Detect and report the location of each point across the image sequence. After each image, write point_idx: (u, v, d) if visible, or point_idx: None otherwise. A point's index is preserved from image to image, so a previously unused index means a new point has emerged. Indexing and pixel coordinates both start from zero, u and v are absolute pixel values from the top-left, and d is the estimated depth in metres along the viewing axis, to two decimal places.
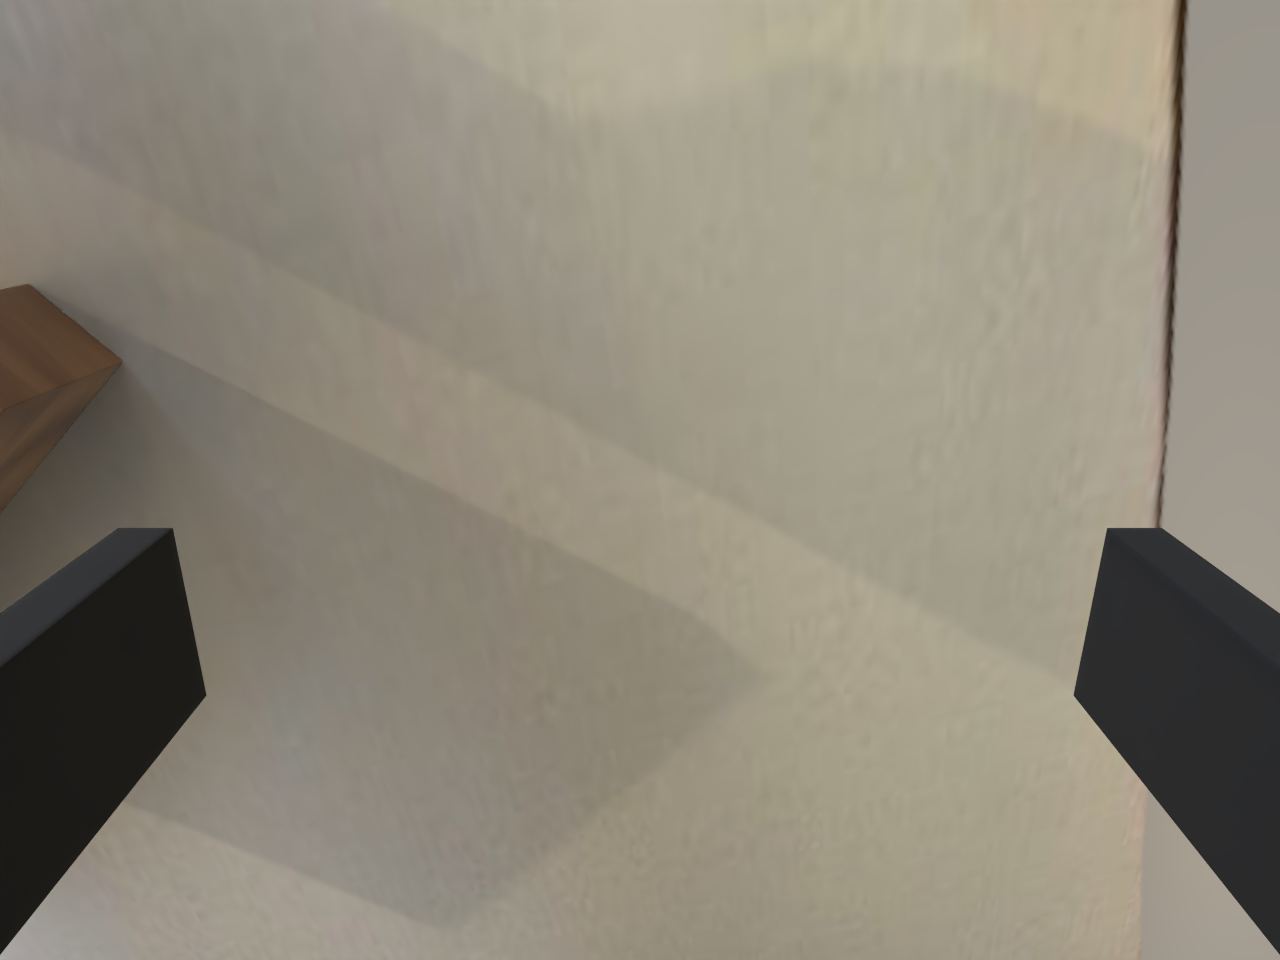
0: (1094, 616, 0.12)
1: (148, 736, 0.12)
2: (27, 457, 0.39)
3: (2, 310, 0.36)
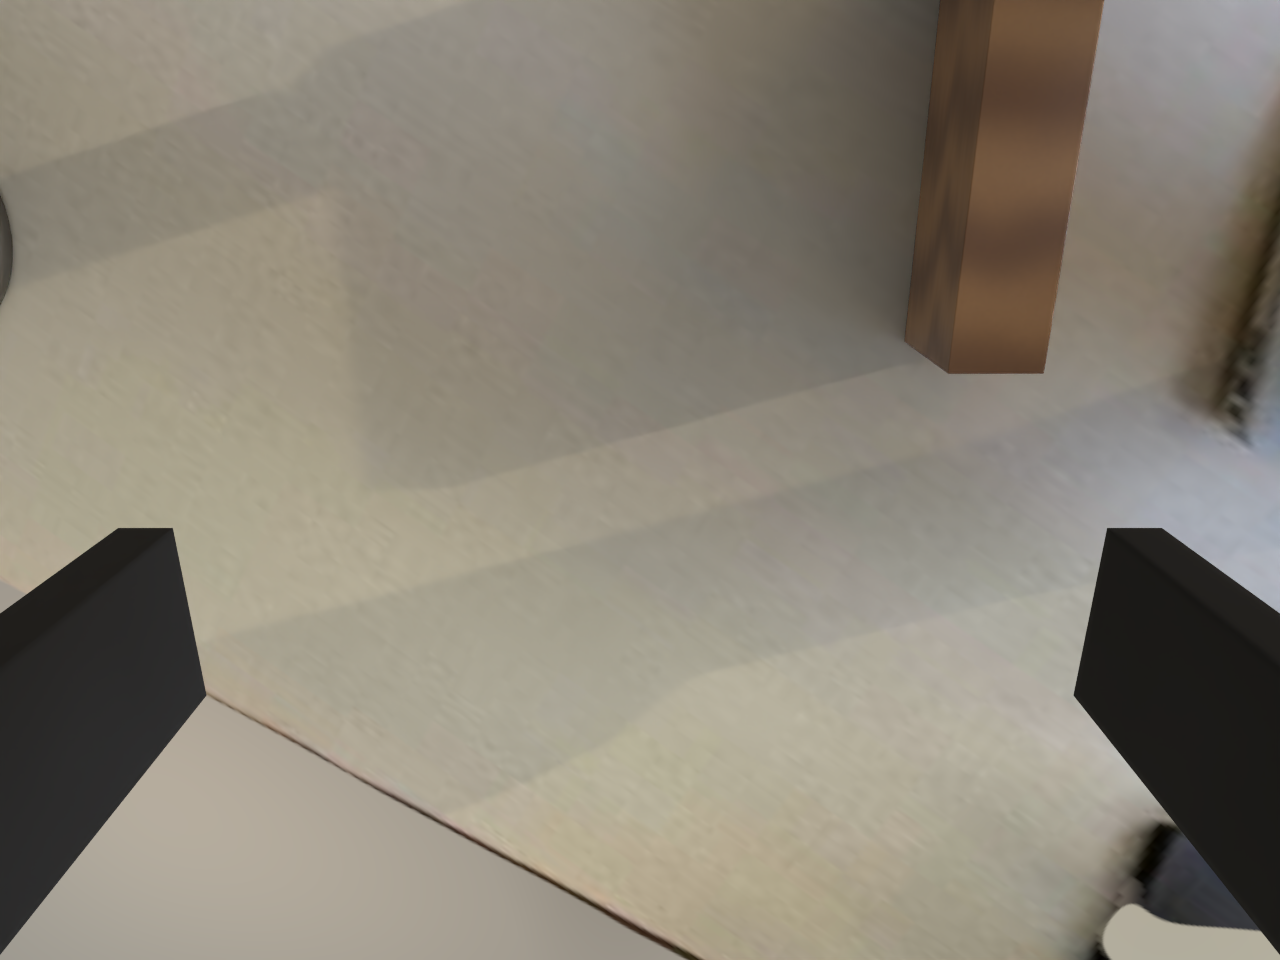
0: (1094, 616, 0.12)
1: (148, 737, 0.12)
2: (925, 251, 0.48)
3: None
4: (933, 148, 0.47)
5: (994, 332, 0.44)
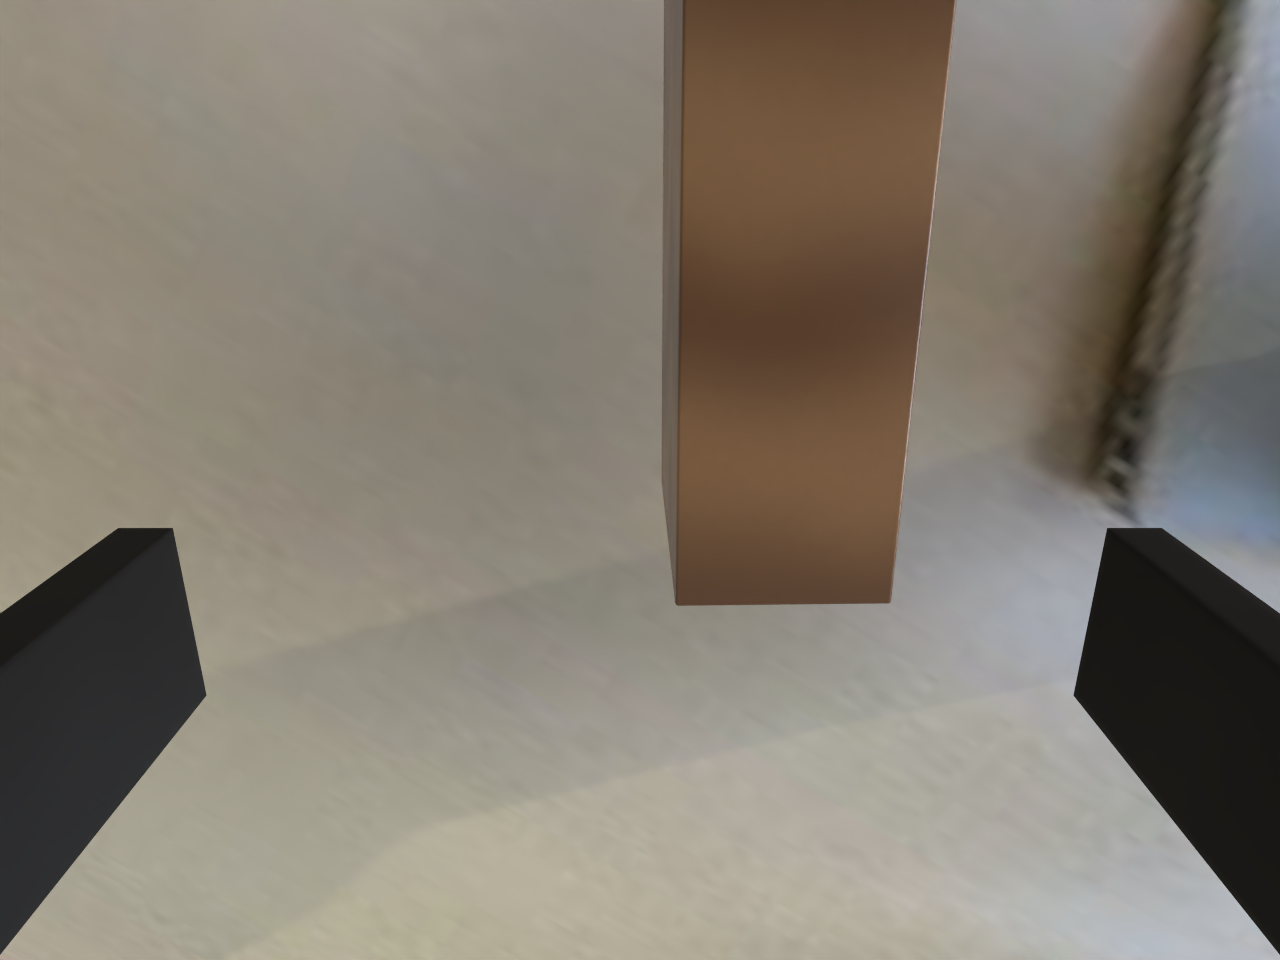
0: (1094, 616, 0.12)
1: (148, 737, 0.12)
2: (665, 318, 0.23)
3: None
4: (666, 103, 0.22)
5: (770, 519, 0.19)
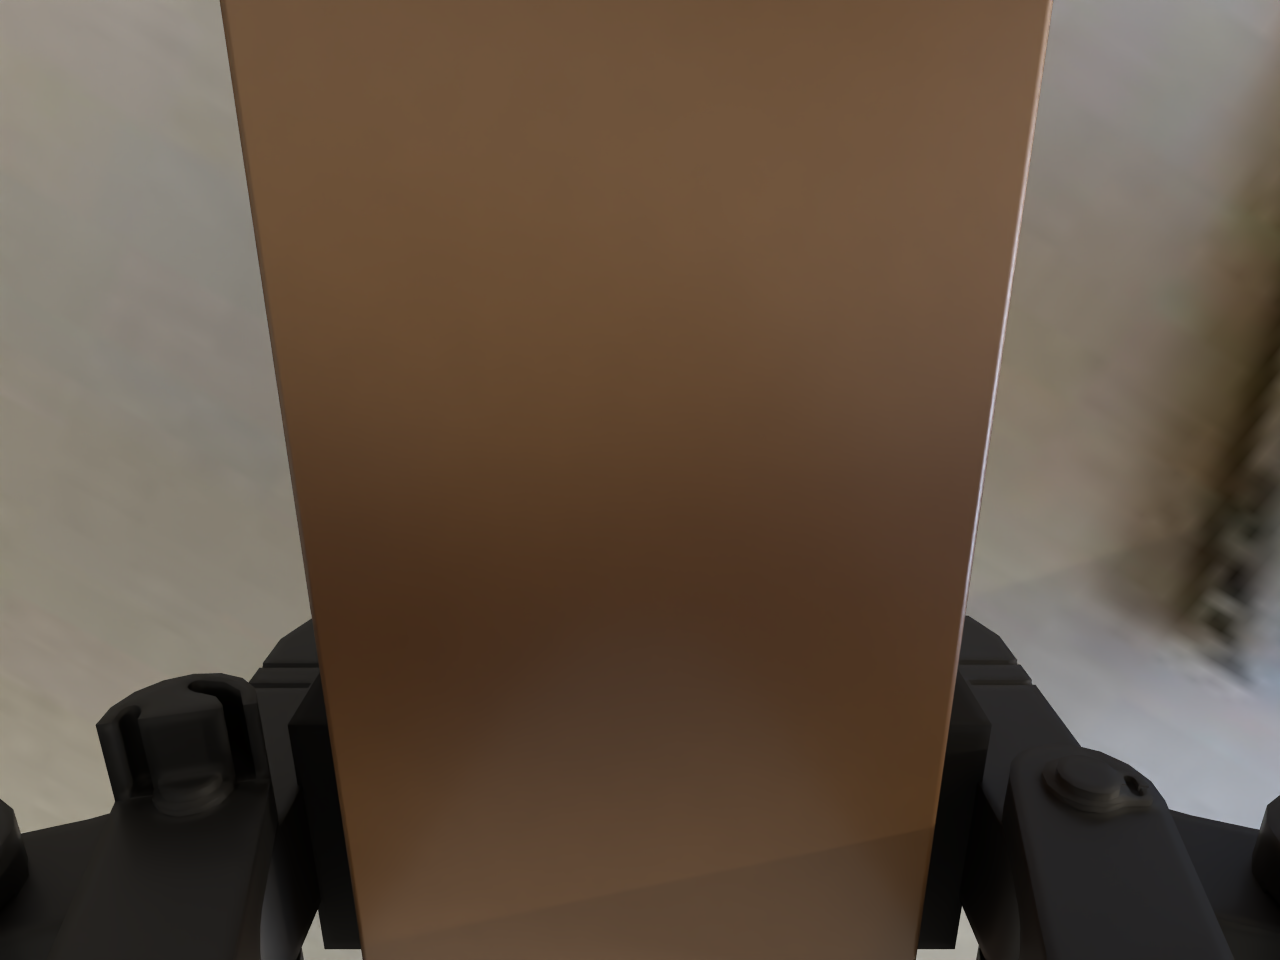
0: None
1: None
2: None
3: None
4: None
5: None
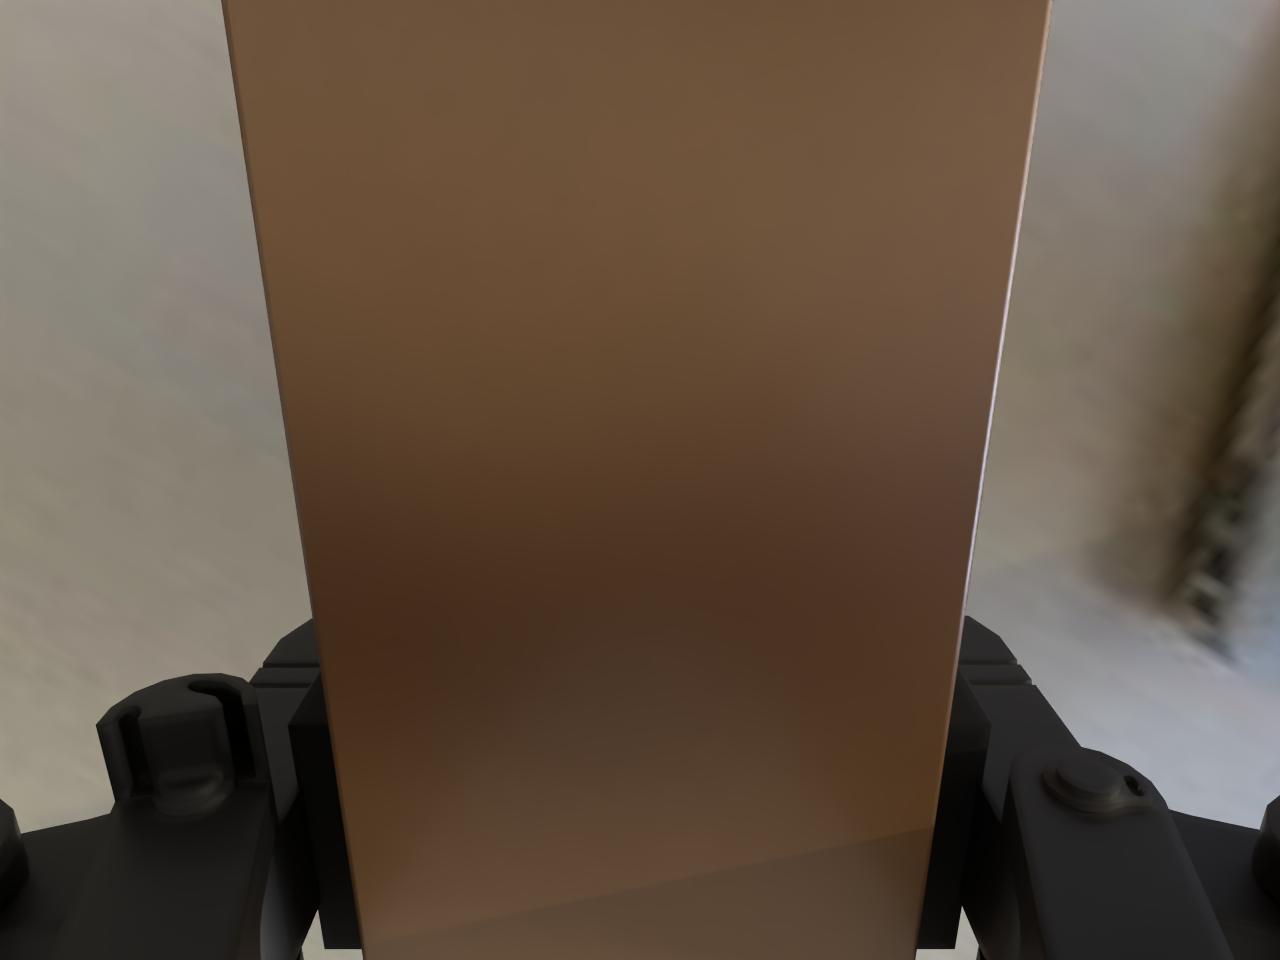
0: None
1: None
2: None
3: None
4: None
5: None
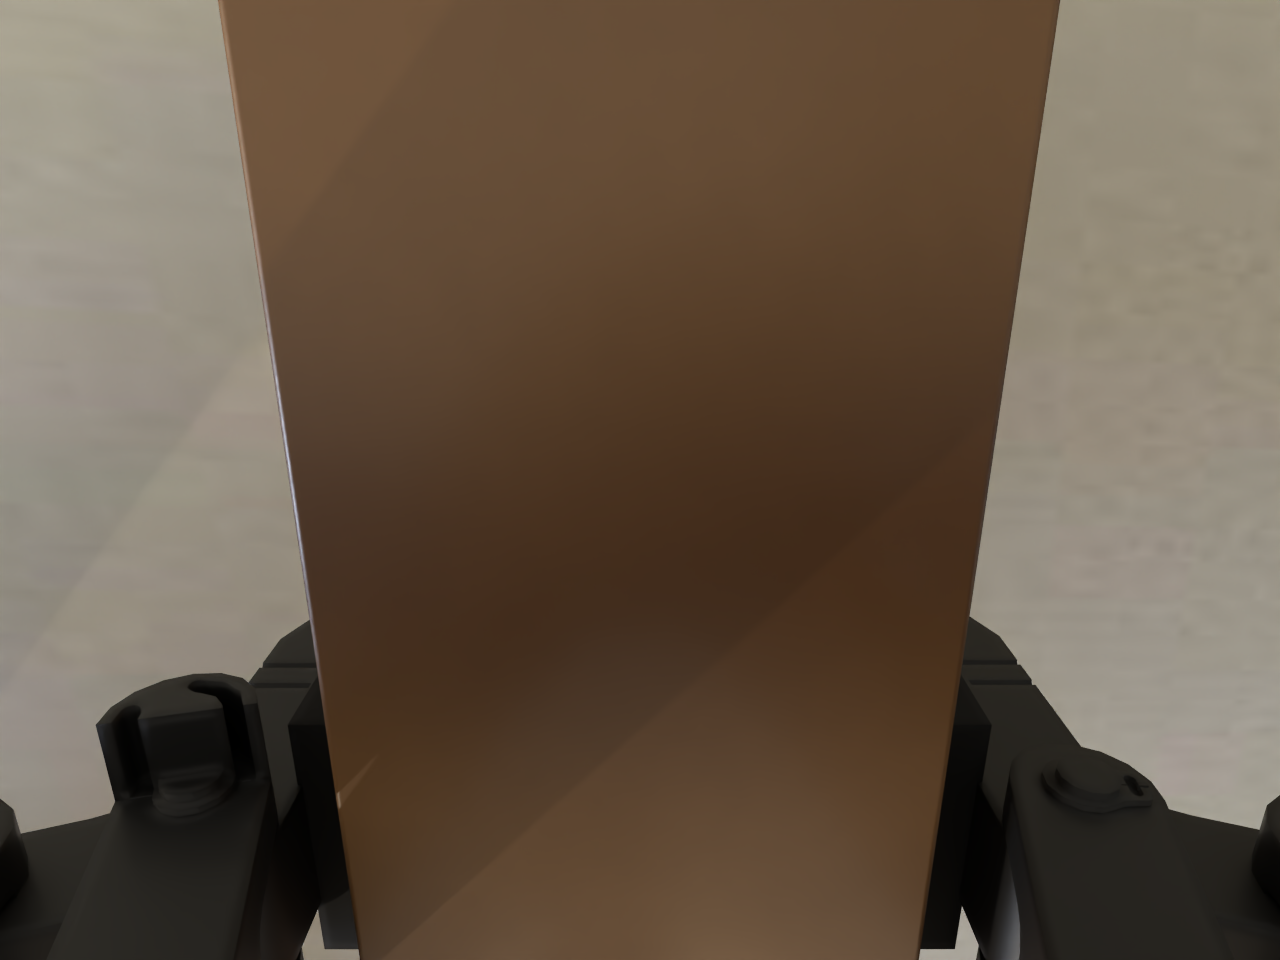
0: None
1: None
2: None
3: None
4: None
5: None
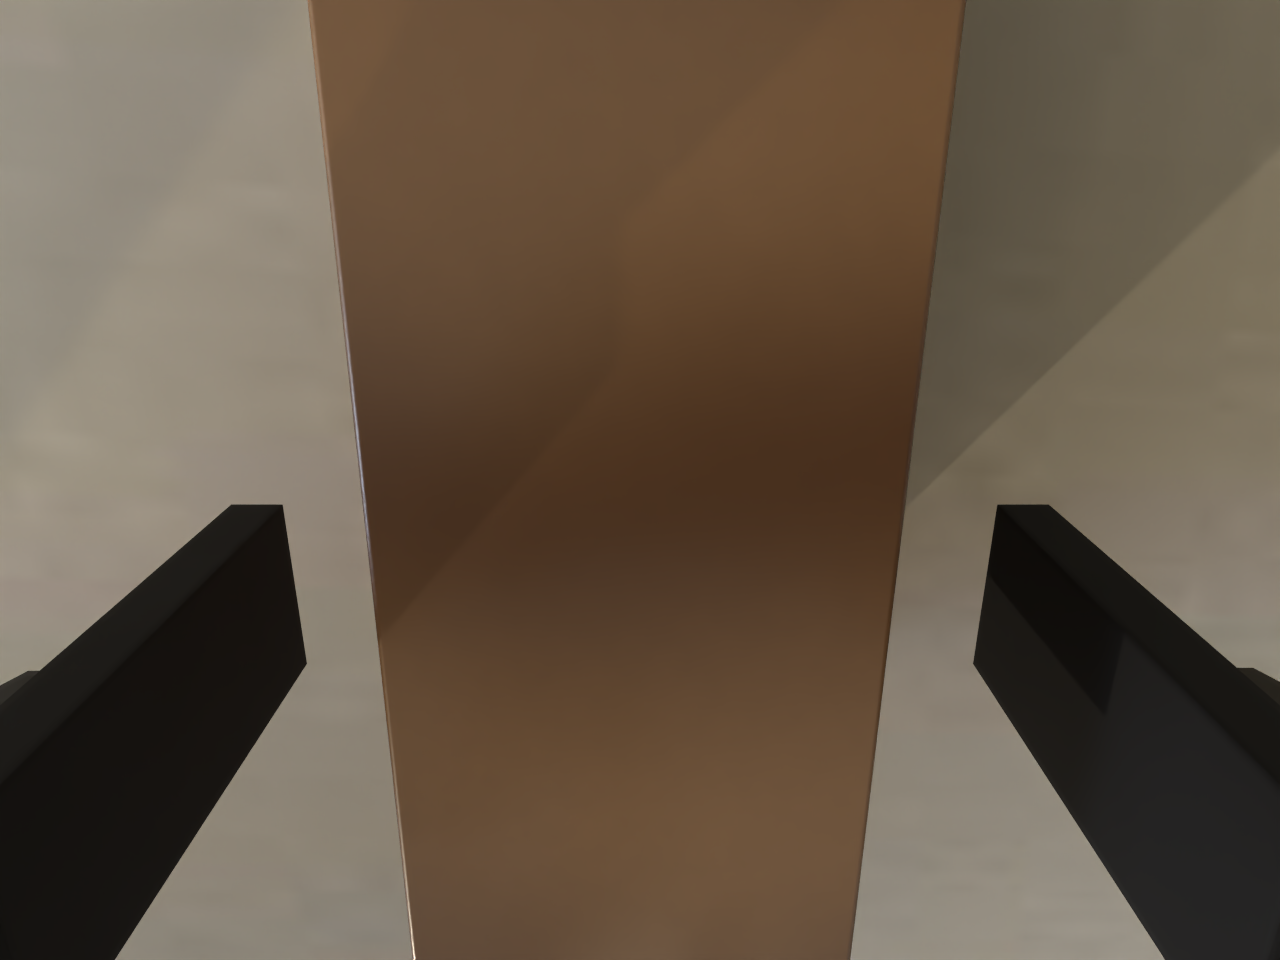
0: (988, 588, 0.13)
1: (265, 698, 0.12)
2: None
3: None
4: None
5: (594, 877, 0.09)
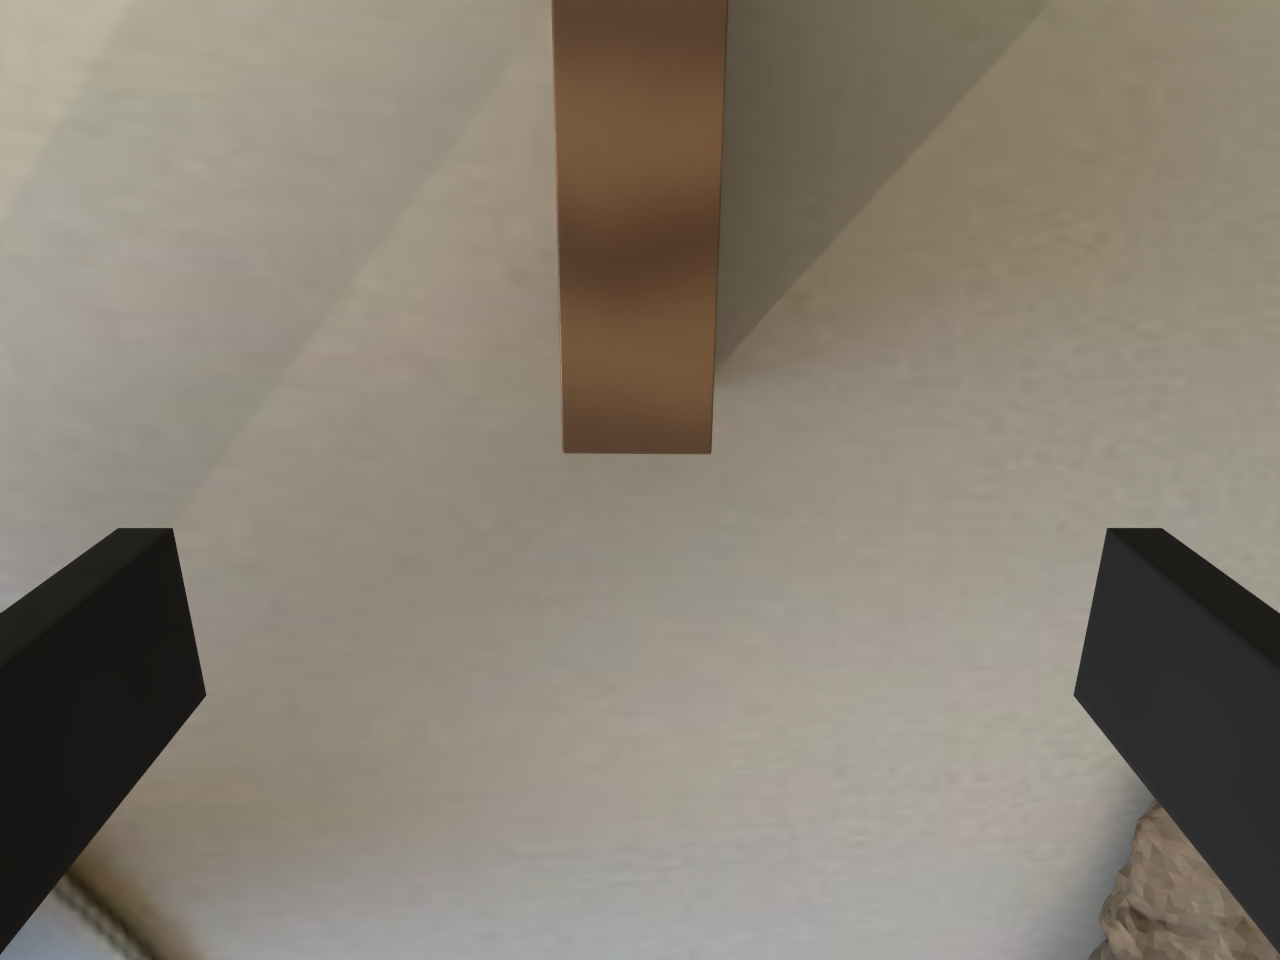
0: (1094, 616, 0.12)
1: (148, 737, 0.12)
2: None
3: None
4: None
5: (625, 391, 0.28)
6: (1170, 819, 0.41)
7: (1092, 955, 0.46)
